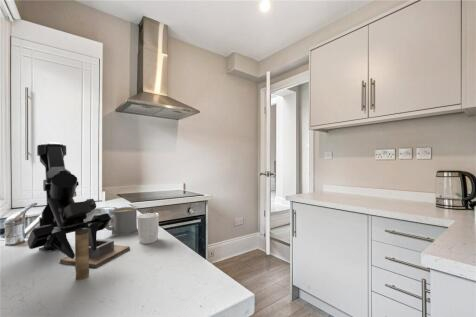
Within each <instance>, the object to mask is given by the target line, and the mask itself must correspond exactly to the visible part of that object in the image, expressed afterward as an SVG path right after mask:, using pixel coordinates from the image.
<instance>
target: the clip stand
mask: <svg viewBox="0 0 476 317" xmlns="http://www.w3.org/2000/svg"><path fill="white" fill-rule="evenodd" d="M96 243H97V249H96V251H93V250H92V248H91V247H90V245H89V268H94V269H96V268H98V267H100V266H102V265H104V264H105V263H107V262H109V261H112V259H114V258H116V257H119V256H120V255H122V254H124V253H125V252H128V251H129V250H131V246H130V245H121V244H115V241H114V240H109V239H100V238H99V239H97V238H96ZM74 255H75V252H74ZM59 264H65V265H66V264H67V265H73V266H76V264H75V257H74V258H73V259H71V258H70V257H68V256H67V255H66V256H64V257H63V258H60V259H59Z"/></svg>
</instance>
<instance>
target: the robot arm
mask: <svg viewBox="0 0 476 317" xmlns="http://www.w3.org/2000/svg"><path fill="white" fill-rule="evenodd" d="M36 155H37V156H38V157H39V162H40V163H41V164H42V166H43V167H44V168H45V179H43V180H42V182H43V183H42V188H43V192H45V194H46V196H45V197H46V205H45V207H44V208H43V210H42V212H41V216H39V218H38V226H37V227H34V228H33V229H31V232H30V234H29V236H28V239H27V245H28V248H29V250H33V249H34V250H35V249H36V248H37V249H38V250H39V251H45V252H46V251H47V252H54V251H56V250H57V251H59V252H61V253H62V254H64V255H65V256H66V257H67V256H68V257H70V258H71V259H73V258H74V257H75V255H74V253H75V252H74V250H73V247H72V246H71V243H70V242H69V239H68V238H67V237H68V236H67V234H70V233H75V230H76V229H80V228H88V240H89V245H90V247H91V248H92V250H93V251H96V249H97V243H96V240H97V232H100V231H104V230H105V229H106V228H105V227H106V226H107V224H108V223H109V224H110V221H112V219H111V217H110V216H111V215H110V214H109V213H107V212H103V213H98V214H94V215H93V217H92V218H91V220H86V219H87V218H88V215H87V214H89V213H91V212H92V211H94V210H96V208H97V203H96V200H94V198H87V199H85V200H83V201H78V202H77V201H76V202H75V199H74V196H75V194H76V189H77V187H78V186H79V181H78V177H77V176H76V175H74V174H73V173H72V172H71V171H70V170H68V169H67V168H66V164H65V156H67V145H63V143H60V142H47V143H41V144H38V145H37V146H36ZM84 220H86V221H84Z"/></svg>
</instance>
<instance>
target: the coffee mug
mask: <svg viewBox="0 0 476 317" xmlns="http://www.w3.org/2000/svg"><path fill="white" fill-rule="evenodd" d="M137 216H138V214H137V207H135V206H124V207H117V208H114V209H111V215H110V217H111V225H110V226H109V224H110V222H109V223H108V224H107V226H106V227H105V228H104V229H106V231H111V234H112V235H113V234H115V235H114V236H125V234H126V235H130V234H133V233H135V232H138V220H137Z"/></svg>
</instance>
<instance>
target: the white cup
mask: <svg viewBox="0 0 476 317" xmlns="http://www.w3.org/2000/svg"><path fill="white" fill-rule="evenodd" d="M159 218H160V214H159V213H156V212H149V213H148V212H147V213H142V214H139V215H137V232H138V242H139V243H140V244H142V245H143V244H144V245H146V244H152V243H155V242H156V241H158V239H159V238H158V236H159V220H160V219H159Z"/></svg>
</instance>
